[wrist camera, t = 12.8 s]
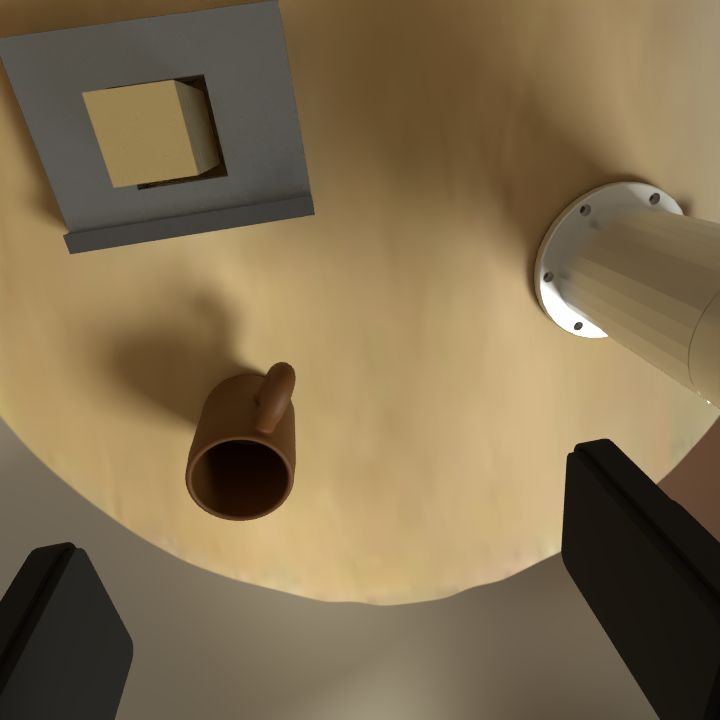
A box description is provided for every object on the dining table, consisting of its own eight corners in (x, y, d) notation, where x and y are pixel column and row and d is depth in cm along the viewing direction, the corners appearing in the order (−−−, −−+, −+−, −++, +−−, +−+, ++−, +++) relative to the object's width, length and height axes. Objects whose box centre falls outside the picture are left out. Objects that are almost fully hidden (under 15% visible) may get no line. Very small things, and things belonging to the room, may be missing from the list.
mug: (243, 310, 39) (230, 362, 30) (331, 346, 41) (341, 404, 32) (191, 431, 43) (167, 506, 34) (274, 457, 45) (270, 534, 36)
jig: (278, 9, 31) (277, -5, 28) (312, 206, 36) (314, 214, 33) (15, 45, 30) (-17, 35, 27) (90, 242, 35) (70, 254, 32)
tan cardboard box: (203, 91, 32) (173, 79, 24) (220, 163, 34) (198, 175, 26) (134, 101, 32) (81, 92, 24) (156, 173, 34) (113, 187, 26)
